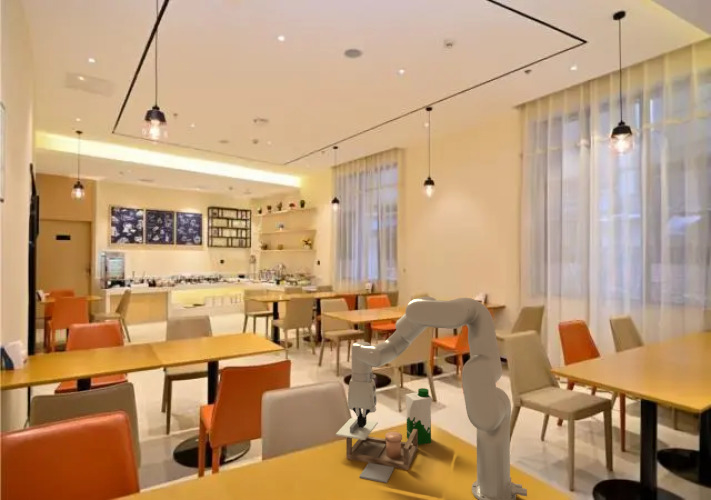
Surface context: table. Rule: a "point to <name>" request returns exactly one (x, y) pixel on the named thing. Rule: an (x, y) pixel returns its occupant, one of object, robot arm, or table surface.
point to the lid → (356, 429)
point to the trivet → (377, 472)
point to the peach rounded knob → (393, 444)
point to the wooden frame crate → (382, 451)
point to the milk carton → (419, 415)
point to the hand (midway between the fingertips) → (362, 426)
